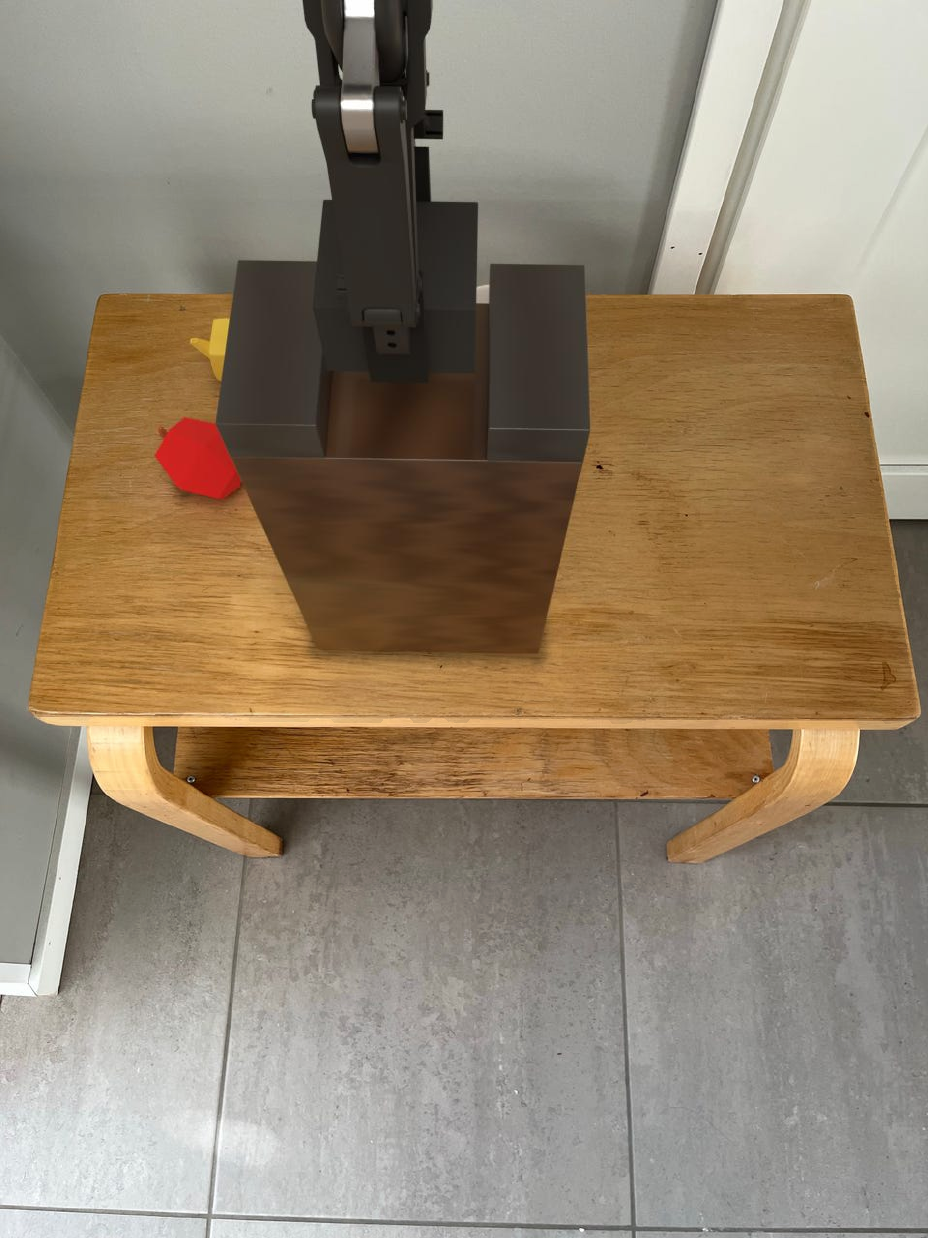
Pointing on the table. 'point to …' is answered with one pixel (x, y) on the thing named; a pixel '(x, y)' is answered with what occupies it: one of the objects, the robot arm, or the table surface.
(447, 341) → the pad
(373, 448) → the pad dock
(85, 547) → the table surface
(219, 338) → the teapot
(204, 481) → the apple
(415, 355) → the robot arm
